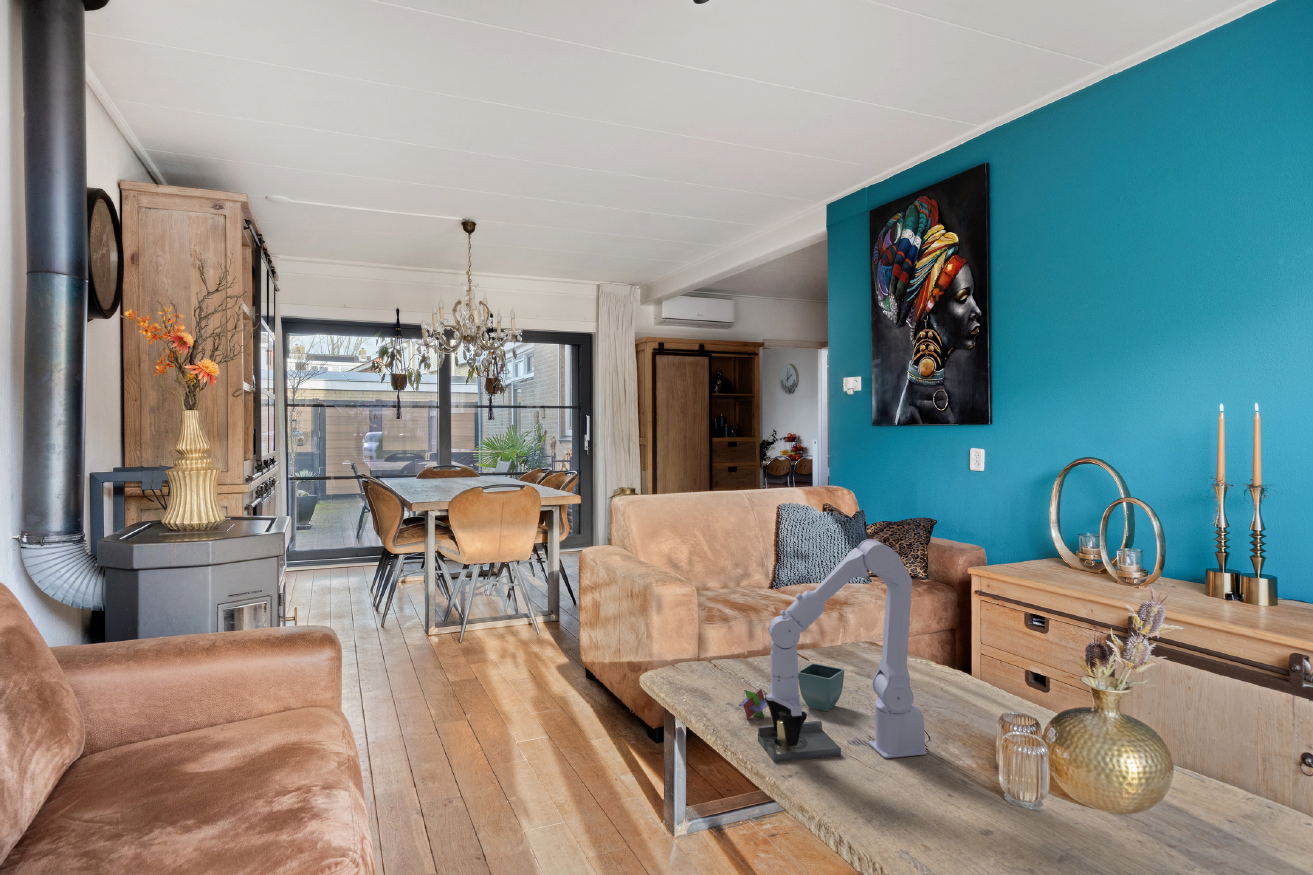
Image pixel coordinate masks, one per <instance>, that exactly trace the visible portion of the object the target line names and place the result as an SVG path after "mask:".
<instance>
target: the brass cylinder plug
mask: <svg viewBox="0 0 1313 875" xmlns="http://www.w3.org/2000/svg"><path fill="white" fill-rule="evenodd" d="M777 741H778V745H779V746H784V747H791V746H787V744H786V740H785V733H784V727H783V723H782V720H781V719H778V720H777Z"/></svg>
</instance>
